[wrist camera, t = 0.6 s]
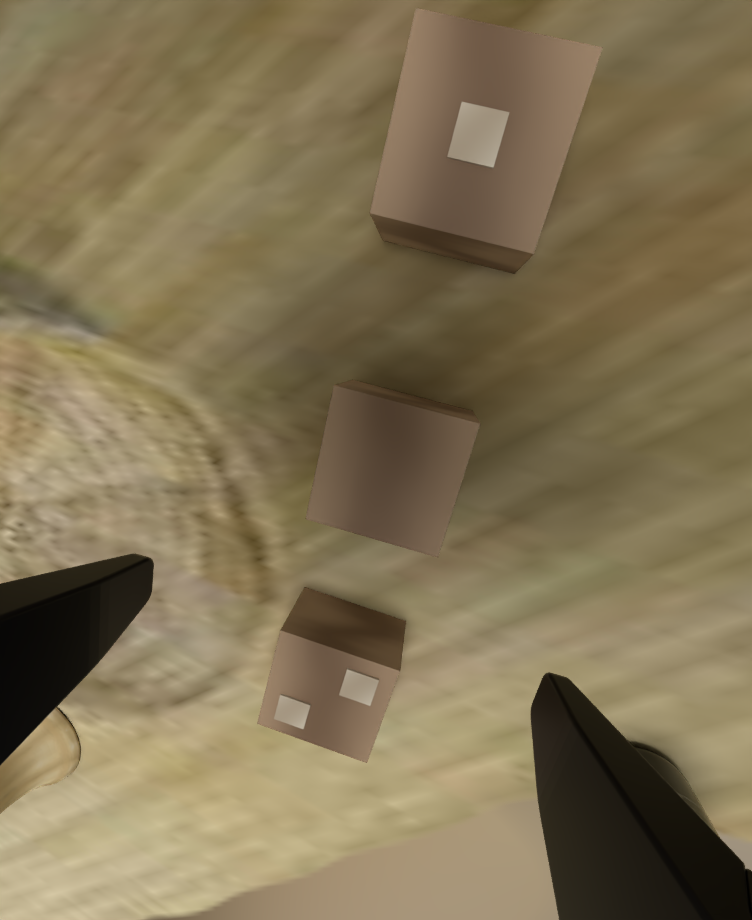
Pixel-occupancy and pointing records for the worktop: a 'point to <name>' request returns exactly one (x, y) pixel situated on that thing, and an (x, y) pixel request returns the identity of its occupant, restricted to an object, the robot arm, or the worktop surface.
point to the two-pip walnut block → (333, 674)
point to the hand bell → (40, 759)
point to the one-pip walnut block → (478, 138)
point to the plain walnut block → (391, 465)
